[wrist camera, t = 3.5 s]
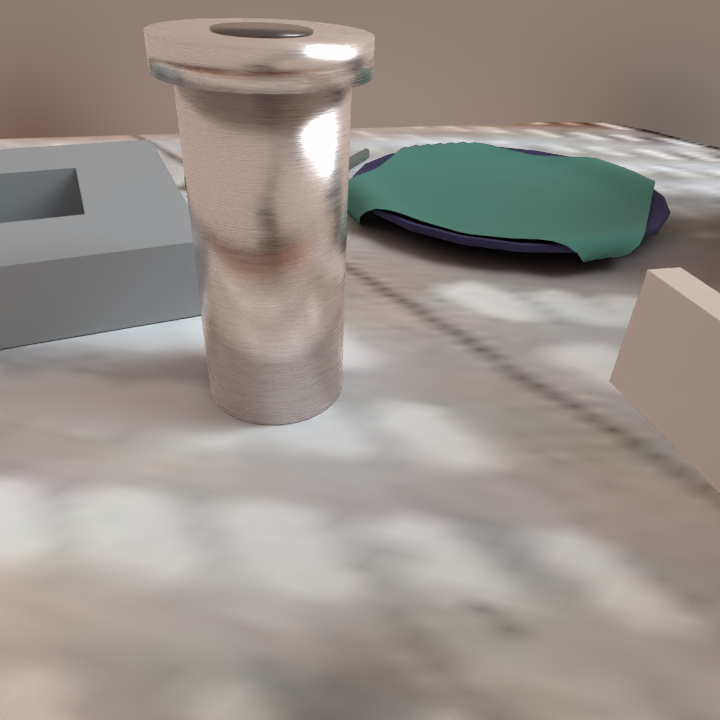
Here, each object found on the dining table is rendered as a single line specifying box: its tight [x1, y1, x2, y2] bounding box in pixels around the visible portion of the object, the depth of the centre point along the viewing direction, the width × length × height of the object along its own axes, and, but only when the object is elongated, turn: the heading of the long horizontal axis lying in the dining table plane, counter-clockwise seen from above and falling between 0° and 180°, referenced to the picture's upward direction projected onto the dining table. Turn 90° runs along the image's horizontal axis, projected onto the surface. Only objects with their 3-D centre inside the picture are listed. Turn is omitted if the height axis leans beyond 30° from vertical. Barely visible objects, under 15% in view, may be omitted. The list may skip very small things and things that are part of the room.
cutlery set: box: [184, 142, 670, 262], centre depth 42 cm, size 20×30×2 cm, turn 65°
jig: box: [0, 140, 201, 349], centre depth 30 cm, size 16×16×4 cm
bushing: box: [144, 18, 375, 425], centre depth 20 cm, size 6×6×12 cm
